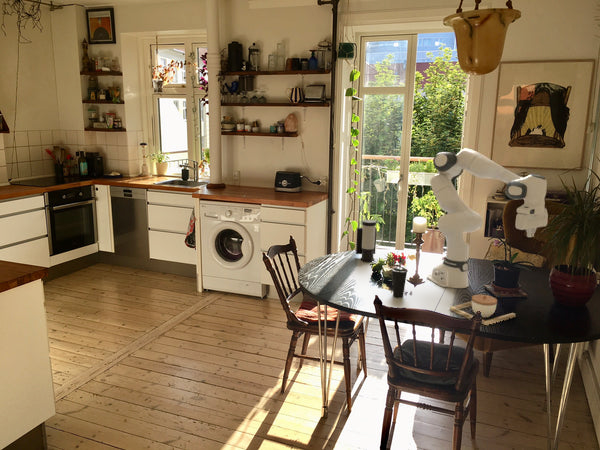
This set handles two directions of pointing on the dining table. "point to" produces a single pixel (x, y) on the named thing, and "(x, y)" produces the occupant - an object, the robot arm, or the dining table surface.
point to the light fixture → (366, 240)
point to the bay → (467, 315)
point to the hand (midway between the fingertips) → (530, 236)
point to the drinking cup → (399, 280)
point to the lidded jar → (484, 304)
